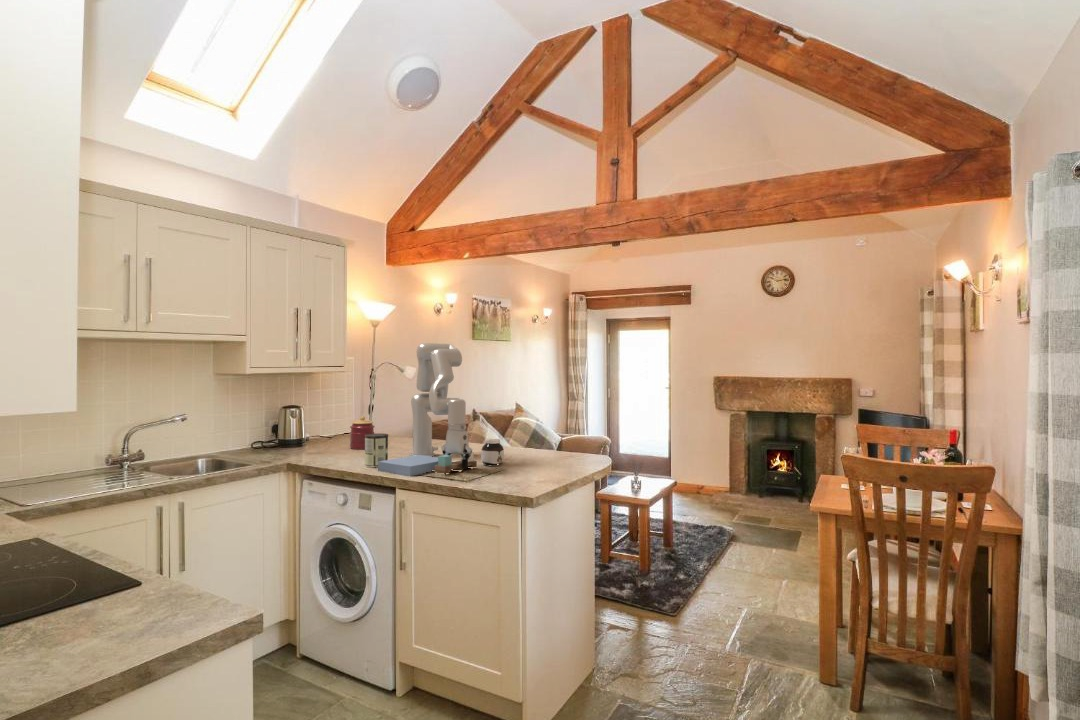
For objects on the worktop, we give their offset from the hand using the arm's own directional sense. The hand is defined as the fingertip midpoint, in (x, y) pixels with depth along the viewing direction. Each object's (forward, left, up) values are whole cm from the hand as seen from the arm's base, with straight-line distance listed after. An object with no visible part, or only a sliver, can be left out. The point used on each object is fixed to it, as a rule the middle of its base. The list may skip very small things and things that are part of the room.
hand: (456, 467), depth 244 cm
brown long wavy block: (0, 0, -2) cm, 2 cm away
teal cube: (+7, 0, +2) cm, 7 cm away
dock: (+8, -17, -2) cm, 19 cm away
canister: (-20, -89, -2) cm, 91 cm away
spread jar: (-23, +1, -2) cm, 23 cm away
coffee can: (+12, -38, -2) cm, 40 cm away
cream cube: (-7, 0, +2) cm, 7 cm away
